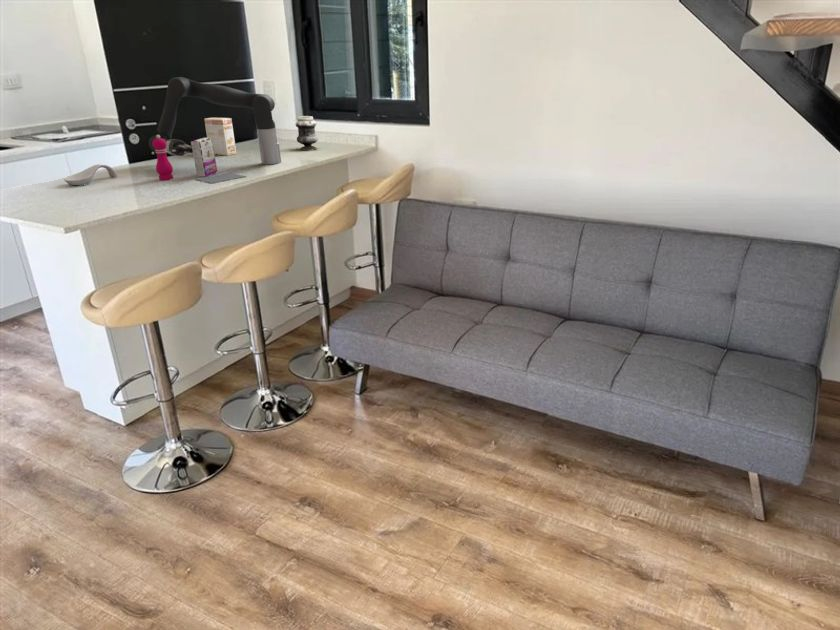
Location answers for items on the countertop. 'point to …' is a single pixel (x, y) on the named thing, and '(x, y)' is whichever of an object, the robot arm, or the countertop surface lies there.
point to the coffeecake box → (221, 135)
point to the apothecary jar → (306, 132)
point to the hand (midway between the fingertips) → (193, 150)
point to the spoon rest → (87, 175)
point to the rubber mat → (220, 177)
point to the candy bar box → (204, 157)
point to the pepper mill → (162, 159)
